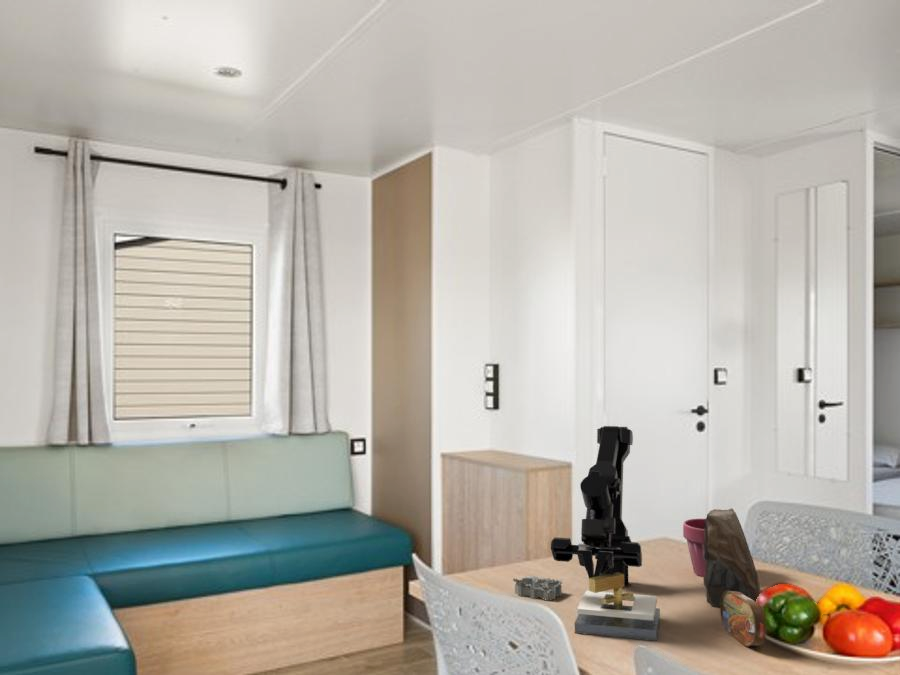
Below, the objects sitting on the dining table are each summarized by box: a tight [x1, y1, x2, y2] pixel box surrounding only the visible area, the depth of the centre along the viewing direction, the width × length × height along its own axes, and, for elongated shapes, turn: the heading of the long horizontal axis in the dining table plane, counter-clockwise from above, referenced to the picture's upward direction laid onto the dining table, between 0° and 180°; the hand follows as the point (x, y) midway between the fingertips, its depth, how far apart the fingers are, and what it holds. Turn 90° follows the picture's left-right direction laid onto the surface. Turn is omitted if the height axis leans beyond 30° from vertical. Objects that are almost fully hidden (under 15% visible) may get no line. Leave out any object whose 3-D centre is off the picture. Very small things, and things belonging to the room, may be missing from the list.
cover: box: [576, 590, 658, 621], centre depth 161 cm, size 15×13×1 cm
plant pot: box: [682, 518, 706, 578], centre depth 198 cm, size 14×14×13 cm
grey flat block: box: [574, 603, 661, 641], centre depth 160 cm, size 16×14×2 cm
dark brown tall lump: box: [703, 507, 762, 609], centre depth 177 cm, size 13×13×20 cm
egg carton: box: [512, 575, 564, 601], centre depth 183 cm, size 11×8×4 cm
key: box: [588, 572, 634, 610], centre depth 160 cm, size 11×2×8 cm, turn 121°
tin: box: [719, 591, 767, 647], centre depth 152 cm, size 15×3×8 cm, turn 5°
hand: (592, 588), depth 159 cm, fingers closed
